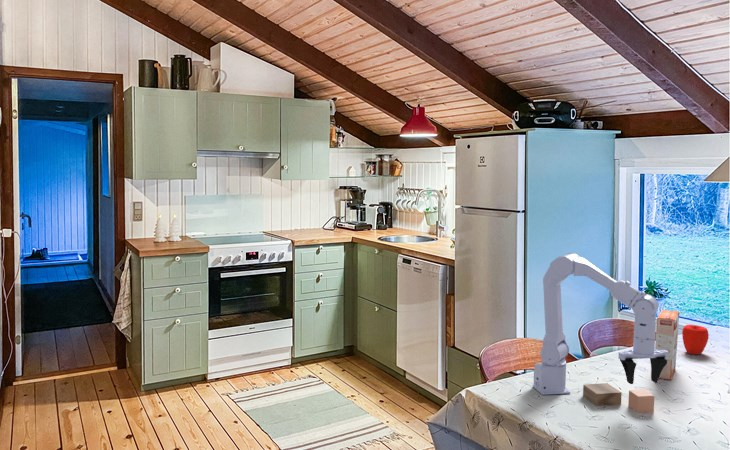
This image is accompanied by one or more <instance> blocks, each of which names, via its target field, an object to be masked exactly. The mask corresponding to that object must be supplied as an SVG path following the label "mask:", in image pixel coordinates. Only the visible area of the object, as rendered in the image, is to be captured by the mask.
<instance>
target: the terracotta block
mask: <svg viewBox="0 0 730 450" xmlns="http://www.w3.org/2000/svg"><path fill="white" fill-rule="evenodd" d="M627 402H628V404H627V405H628V407H629V408H630V409H631V410H633V411H634V412H635V413H637V414H643V413H654V412H655V395H654V394H652V393H651V392H650V391H648V390H646V389H631V390H630V389H629V390H628V401H627Z"/></svg>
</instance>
